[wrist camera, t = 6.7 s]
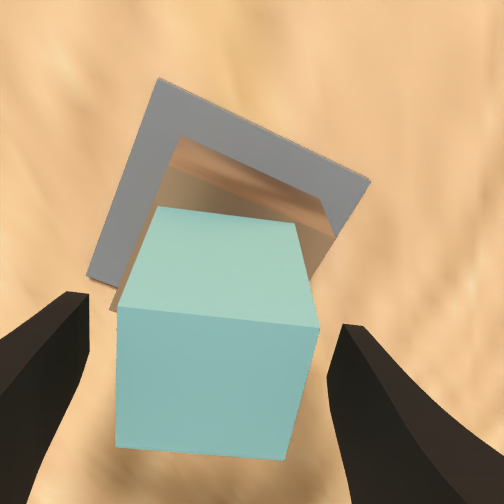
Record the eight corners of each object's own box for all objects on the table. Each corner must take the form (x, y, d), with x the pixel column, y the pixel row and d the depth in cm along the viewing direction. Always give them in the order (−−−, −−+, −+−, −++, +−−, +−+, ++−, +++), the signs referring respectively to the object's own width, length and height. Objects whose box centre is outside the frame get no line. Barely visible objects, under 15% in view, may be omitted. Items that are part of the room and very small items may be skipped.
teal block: (294, 223, 15) (320, 328, 10) (271, 331, 18) (284, 460, 13) (157, 206, 15) (116, 306, 10) (151, 318, 17) (114, 446, 12)
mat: (368, 178, 19) (371, 181, 19) (269, 338, 23) (269, 343, 22) (159, 77, 17) (157, 79, 17) (88, 270, 21) (85, 275, 20)
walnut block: (319, 198, 19) (335, 238, 16) (255, 309, 21) (257, 362, 18) (181, 135, 18) (168, 164, 14) (129, 261, 20) (109, 309, 17)
